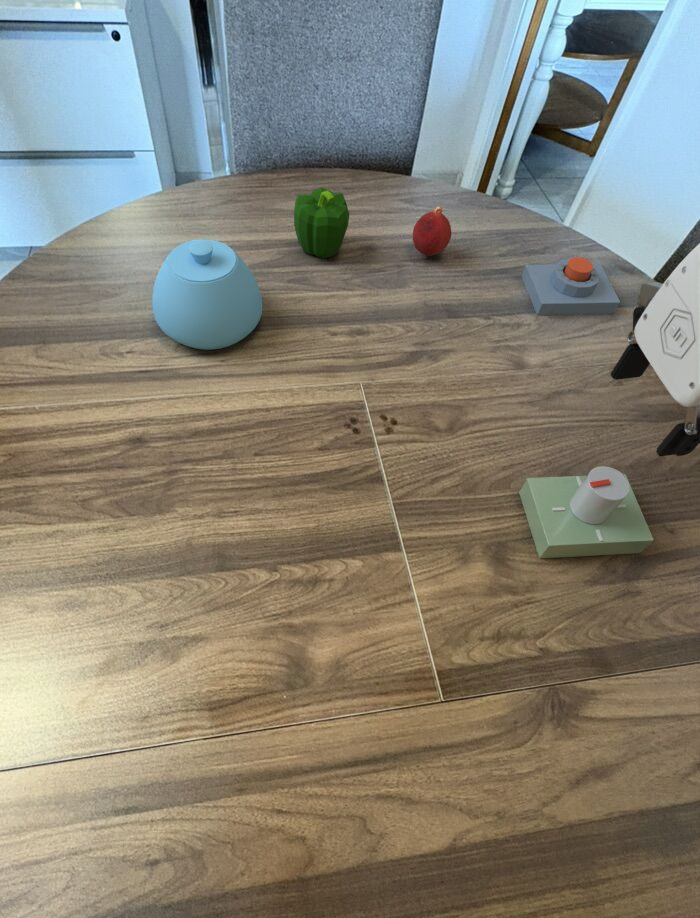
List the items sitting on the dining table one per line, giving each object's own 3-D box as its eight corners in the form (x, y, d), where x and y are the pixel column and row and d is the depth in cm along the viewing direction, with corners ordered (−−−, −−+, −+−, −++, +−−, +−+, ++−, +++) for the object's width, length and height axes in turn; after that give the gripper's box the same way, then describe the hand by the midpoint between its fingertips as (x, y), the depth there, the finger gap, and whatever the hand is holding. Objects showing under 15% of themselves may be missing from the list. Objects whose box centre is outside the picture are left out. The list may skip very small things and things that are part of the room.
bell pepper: (291, 233, 99) (291, 171, 90) (341, 232, 100) (347, 170, 91) (295, 266, 94) (297, 204, 86) (348, 264, 95) (355, 203, 87)
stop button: (584, 267, 92) (588, 256, 90) (591, 282, 90) (596, 272, 88) (560, 267, 92) (565, 257, 90) (568, 282, 90) (572, 272, 88)
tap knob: (598, 489, 71) (619, 461, 66) (615, 521, 68) (638, 495, 64) (563, 494, 70) (582, 467, 65) (579, 527, 68) (600, 501, 63)
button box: (594, 275, 97) (605, 253, 93) (613, 314, 92) (626, 292, 89) (521, 276, 96) (529, 254, 92) (536, 315, 91) (546, 293, 88)
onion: (427, 271, 95) (438, 224, 88) (401, 253, 97) (410, 205, 91) (452, 257, 97) (465, 210, 91) (426, 239, 100) (436, 192, 93)
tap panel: (614, 488, 75) (626, 472, 72) (640, 553, 70) (654, 539, 67) (518, 492, 74) (527, 476, 71) (539, 558, 69) (549, 545, 66)
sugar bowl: (282, 331, 86) (282, 259, 77) (187, 372, 81) (174, 300, 72) (229, 273, 93) (223, 199, 83) (137, 307, 88) (119, 233, 78)
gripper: (661, 192, 49) (575, 353, 63) (787, 344, 40) (653, 491, 54) (745, 186, 50) (641, 346, 64) (886, 333, 41) (729, 480, 55)
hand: (647, 412), depth 59 cm, fingers open, 9 cm apart
